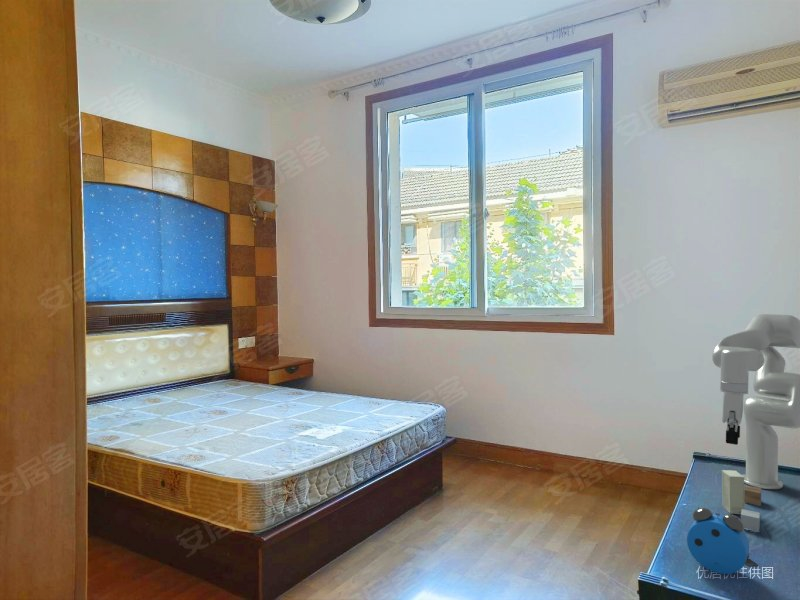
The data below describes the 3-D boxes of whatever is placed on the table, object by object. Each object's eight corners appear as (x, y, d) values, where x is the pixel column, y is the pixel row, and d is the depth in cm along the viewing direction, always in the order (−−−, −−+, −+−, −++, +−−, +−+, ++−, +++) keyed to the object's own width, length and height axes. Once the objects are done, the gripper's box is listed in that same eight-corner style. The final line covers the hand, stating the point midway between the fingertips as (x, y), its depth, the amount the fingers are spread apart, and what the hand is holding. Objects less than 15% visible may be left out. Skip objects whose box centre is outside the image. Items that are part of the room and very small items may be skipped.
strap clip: (726, 550, 140) (726, 535, 140) (737, 550, 140) (737, 535, 140) (747, 567, 132) (747, 551, 132) (759, 567, 132) (759, 551, 132)
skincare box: (744, 515, 161) (745, 477, 160) (729, 514, 162) (729, 476, 161) (735, 506, 167) (736, 470, 166) (721, 505, 168) (721, 469, 167)
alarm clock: (749, 572, 129) (750, 514, 129) (745, 583, 124) (746, 523, 124) (691, 555, 138) (691, 500, 137) (686, 564, 133) (686, 508, 132)
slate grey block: (741, 523, 156) (741, 508, 155) (759, 527, 153) (759, 512, 153) (740, 529, 152) (740, 514, 152) (759, 533, 149) (759, 518, 149)
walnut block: (744, 498, 173) (745, 485, 173) (761, 501, 170) (761, 488, 170) (744, 503, 170) (744, 489, 169) (760, 506, 167) (760, 492, 167)
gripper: (722, 382, 173) (721, 432, 173) (717, 389, 159) (716, 444, 159) (749, 385, 169) (748, 436, 169) (746, 393, 155) (745, 448, 155)
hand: (732, 440), depth 164 cm, fingers open, 9 cm apart
